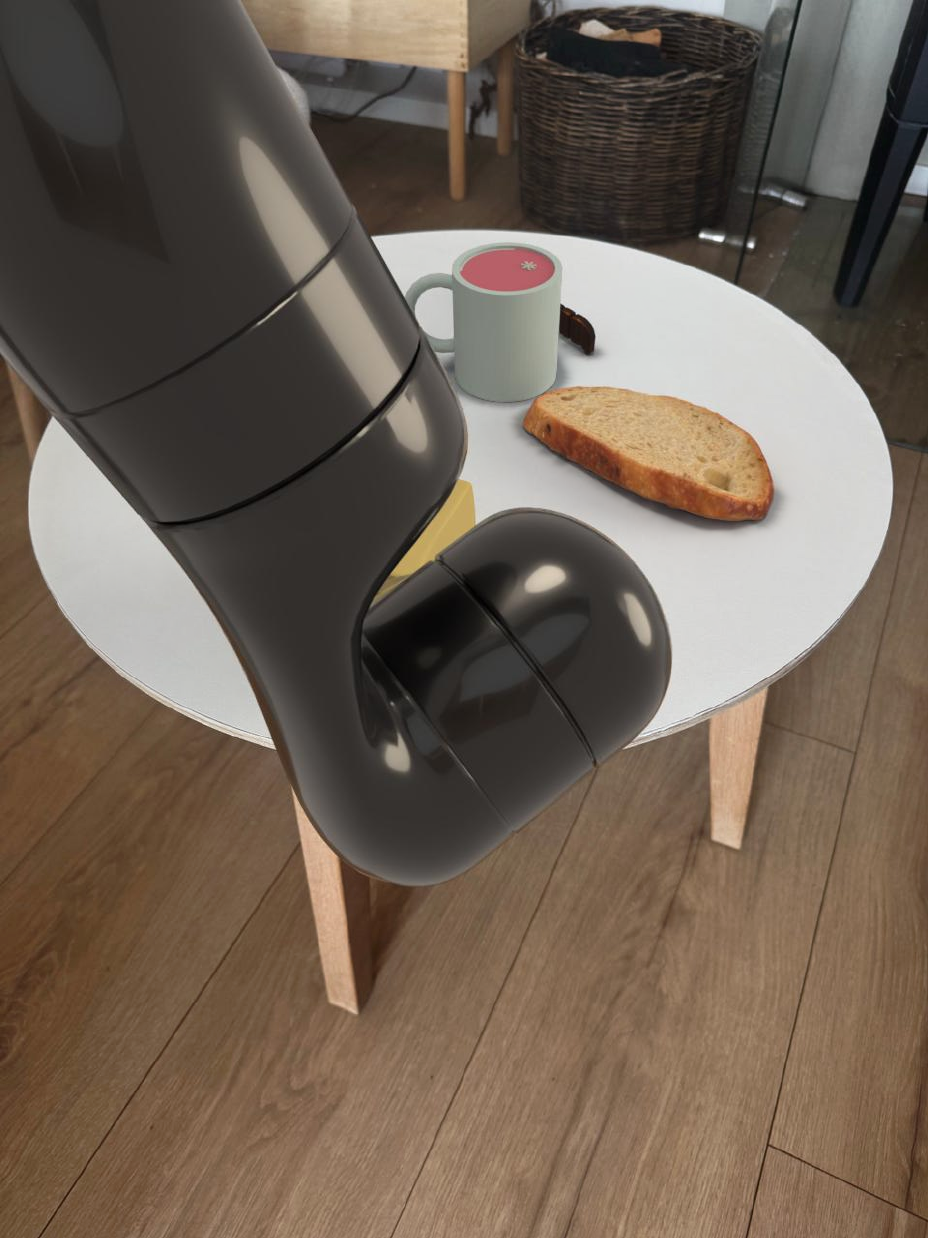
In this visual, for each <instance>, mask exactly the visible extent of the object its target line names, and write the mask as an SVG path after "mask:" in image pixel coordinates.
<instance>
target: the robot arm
mask: <svg viewBox="0 0 928 1238" xmlns="http://www.w3.org/2000/svg"><path fill="white" fill-rule="evenodd" d="M302 112H303V111H301V109H300V107H299V105H298V104H297V102H296V100H295V98H294V96H293V95H292V92H291V91H290V89H289V87H288V85H287V83H286V82H285V80H284V78H283V76H282V74H281V72H280V71H279V68H278V67H277V65H276V63H275V62H274V59H273V58H272V56H271V54H270V52H269V51H268V48H267V46H266V45H265V43H264V41H263V39H262V37H261V35H260V34H259V32H258V30H257V28H256V26H255V24H254V22H253V21H252V19H251V17H250V15H249V13H248V11H247V9H246V8H245V5H244V4H243V2H242V0H0V355H1V358H3V360H4V361H5V362H6V363H7V365H8V366H9V367H10V369H12V371H13V372H14V373H15V374H16V375H17V377H18V378H19V379H20V380H21V381H22V382H23V383H24V385H25V386H26V387H27V388H28V390H30V392H31V393H32V394H33V395H34V396H35V398H36V399H37V400H38V401H39V402H40V403H41V405H42V406H43V407H44V408H45V409H47V410H48V412H49V413H50V415H51V416H52V417H53V419H55V421H56V422H57V423H58V424H59V425H60V426H61V427H62V429H63V430H64V431H65V432H66V434H68V436H70V438H71V439H72V440H73V441H74V442H75V444H76V445H77V446H78V447H79V448H80V450H81V451H82V452H83V453H84V455H86V456H87V458H89V460H90V461H91V462H92V463H93V465H95V467H96V468H97V470H99V471H100V473H101V474H102V475H103V476H104V477H105V478H106V480H107V481H108V482H109V484H111V485H112V486H113V488H114V489H115V490H116V492H118V493H119V494H120V496H121V497H122V498H123V499H124V500H125V501H126V502H127V504H128V505H129V507H131V508H132V509H133V511H134V512H135V513H136V514H137V515H138V516H139V517H140V519H142V521H143V522H144V523H145V524H146V525H147V527H148V528H149V529H150V531H152V533H153V535H155V537H156V538H157V539H158V541H159V542H160V543H161V544H162V545H163V546H164V548H165V549H166V550H167V551H168V553H169V554H170V555H171V556H172V558H173V559H174V560H175V561H176V563H177V564H178V566H179V567H180V569H182V571H183V572H184V573H185V575H186V576H187V578H188V579H189V580H190V582H191V583H192V584H193V587H195V589H196V591H197V592H198V594H199V595H200V597H201V599H202V600H203V602H204V603H205V605H206V606H207V607H208V609H209V610H210V612H211V614H212V615H213V617H214V618H215V620H216V622H217V624H218V626H219V627H220V629H221V631H222V633H223V634H224V636H225V638H226V640H227V642H228V643H229V646H230V647H231V649H232V651H233V653H234V655H235V657H236V659H237V661H238V663H239V666H240V667H241V670H242V671H243V674H244V676H245V678H246V680H247V682H248V684H249V686H250V688H251V691H252V692H253V694H254V697H255V699H256V702H257V704H258V705H257V706H258V707H259V709H260V711H261V715H262V717H263V720H264V722H265V726H266V727H267V730H268V733H269V735H270V738H271V740H272V743H273V746H274V748H275V750H276V754H277V756H278V758H279V761H280V763H281V766H282V768H283V770H284V773H285V775H286V778H287V780H288V782H289V784H290V786H291V789H292V791H293V792H294V795H295V797H296V799H297V801H298V804H299V805H300V807H301V809H302V810H303V813H304V814H305V816H306V818H307V819H308V821H309V823H310V824H311V826H312V827H313V829H314V830H315V832H316V833H317V835H318V836H319V837H320V839H321V840H322V841H323V842H324V844H325V845H326V846H327V847H328V848H329V849H330V850H331V851H332V853H334V854H335V855H336V856H337V857H338V858H339V859H340V860H341V861H343V862H344V863H345V864H346V865H347V866H349V867H351V868H352V869H353V870H355V871H357V872H358V873H359V874H362V875H363V876H366V877H368V878H370V879H373V880H376V881H378V882H381V883H385V884H390V885H393V886H398V887H408V888H426V887H435V886H439V885H443V884H446V883H449V882H450V881H453V880H455V879H457V878H459V877H460V876H462V875H464V874H466V873H468V872H470V871H471V870H472V869H474V868H475V867H477V866H478V865H479V864H481V863H483V861H485V860H486V859H487V858H488V857H490V856H491V855H492V854H493V853H494V852H495V851H497V850H498V849H500V848H501V847H502V846H503V845H504V844H506V843H507V842H508V841H510V840H511V839H512V838H513V837H514V835H515V833H516V834H519V832H521V831H522V830H523V829H524V828H525V827H527V826H528V825H530V824H531V823H532V822H533V821H534V820H535V819H537V818H538V817H539V816H541V815H542V814H543V813H545V812H546V811H547V810H548V809H550V808H551V807H552V806H553V805H555V803H557V802H558V801H559V800H561V799H562V798H563V797H565V795H567V794H568V793H569V792H571V791H572V790H573V789H574V788H576V787H577V786H578V785H579V784H581V783H582V782H583V781H584V780H586V779H587V778H588V777H589V776H591V775H592V774H593V773H594V771H595V768H597V769H599V768H601V767H603V766H604V765H605V764H607V763H608V762H609V761H610V760H611V759H613V758H614V757H615V756H617V754H619V753H620V752H622V751H623V750H624V749H625V748H626V747H628V746H629V745H630V744H631V743H632V742H633V741H634V740H636V739H637V738H638V737H639V736H640V734H641V733H642V732H643V731H644V730H645V729H646V728H647V727H648V726H649V725H650V724H651V722H652V721H653V720H654V718H655V717H656V715H657V714H658V712H659V710H660V708H661V707H662V704H663V702H664V700H665V698H666V695H667V692H668V689H669V685H670V682H671V676H672V668H673V643H672V635H671V631H670V626H669V623H668V619H667V616H666V614H665V611H664V608H663V605H662V603H661V600H660V598H659V596H658V594H657V592H656V590H655V588H654V587H653V585H652V583H651V582H650V580H649V579H648V578H647V576H646V575H645V573H644V572H643V570H642V569H641V568H640V567H639V565H638V564H637V563H636V561H635V560H634V559H632V557H631V556H630V554H628V553H627V551H625V550H624V549H623V548H622V547H621V546H620V545H618V544H617V543H616V542H615V541H614V540H613V539H611V538H610V537H608V535H606V534H605V533H603V532H601V531H600V530H598V529H597V528H595V527H594V526H592V525H590V524H588V523H586V522H584V521H582V520H580V519H578V518H576V517H573V516H571V515H568V514H566V513H563V512H559V511H555V510H553V509H548V508H542V507H530V506H526V507H525V506H524V507H514V508H508V509H507V508H506V509H504V510H499V511H497V512H495V513H493V514H491V515H489V516H488V517H486V518H484V519H482V520H481V521H480V522H478V523H477V524H476V525H475V526H474V527H473V528H471V529H470V530H468V531H467V532H466V533H464V534H463V535H462V536H460V537H459V538H458V539H456V540H455V541H454V542H452V543H451V544H450V545H448V546H447V547H446V548H444V549H443V550H442V551H440V552H439V553H438V554H436V555H435V559H434V561H433V560H430V561H428V562H427V563H425V564H424V565H423V566H421V567H420V568H419V569H417V570H416V571H415V572H413V573H412V574H407V575H402V576H398V577H396V578H393V579H390V580H387V581H386V579H387V578H388V577H389V575H390V574H391V573H392V571H393V570H394V569H395V568H396V566H397V565H398V564H399V562H400V561H401V560H402V559H403V557H404V556H405V555H406V554H407V552H408V551H409V550H410V549H411V547H412V546H413V545H414V544H415V542H416V541H417V540H418V539H419V537H420V536H421V535H422V534H423V532H424V531H425V530H426V528H427V527H428V526H429V525H430V523H431V522H432V521H433V519H434V518H435V517H436V515H437V514H438V513H439V511H440V510H441V509H442V508H443V506H444V505H445V503H446V501H447V500H448V498H449V497H450V495H451V493H452V491H453V489H454V487H455V485H456V483H457V481H458V479H460V477H461V475H462V472H463V470H464V467H465V463H466V459H467V455H468V448H469V447H468V446H469V431H468V424H467V423H468V422H467V420H466V415H465V412H464V408H463V406H462V403H461V401H460V398H459V395H458V393H457V391H456V388H455V386H454V384H453V382H452V381H451V379H450V377H449V375H448V373H447V371H446V369H445V368H444V365H443V363H442V362H441V359H440V358H439V356H438V354H437V352H435V351H434V349H433V347H432V345H431V343H430V342H429V340H428V338H427V336H426V335H425V333H424V331H425V330H424V329H423V328H422V326H421V325H420V323H419V321H418V318H417V316H416V314H415V315H414V313H413V312H412V310H411V308H410V306H409V304H408V303H407V301H406V299H405V295H404V293H403V292H402V290H401V288H400V286H399V285H398V283H397V281H396V279H395V278H394V275H393V274H392V272H391V270H390V268H389V266H388V265H387V263H386V261H385V260H384V257H383V256H382V254H381V252H380V250H379V249H378V247H377V245H376V243H375V241H374V239H373V238H372V236H371V234H370V233H369V231H368V229H367V227H366V225H365V223H364V222H363V220H362V218H361V217H360V215H359V213H358V210H357V209H356V207H355V206H354V204H353V201H352V200H351V198H350V196H349V195H348V194H349V193H347V190H346V189H345V187H344V185H343V184H342V182H341V180H340V178H339V177H338V174H337V173H336V171H335V170H334V168H333V166H332V164H331V162H330V161H329V159H328V157H327V155H326V152H325V151H324V149H323V148H322V146H321V144H320V143H319V141H318V139H317V137H316V136H315V134H314V132H313V130H312V128H311V127H310V125H309V123H308V121H307V120H306V117H305V116H304V115H303V113H302ZM415 316H416V317H415Z"/></svg>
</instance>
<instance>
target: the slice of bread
mask: <svg viewBox="0 0 928 1238" xmlns="http://www.w3.org/2000/svg"><path fill="white" fill-rule="evenodd" d="M522 427H523V429H525V430H526V432H527V434H531V435H533V436H534V437H536V438H537V439H538V440H539V441H540V442H541V443H542V444H544V445H546V446H547V447H548V448H549V450H551V451H553V452H556V453H558V454H560V455H561V456H562V457H564V458H565V459H566V460H569V461H571V462H575V463H576V464H578V465H580V466H581V467H582V468H583V469H585V470H588V471H591V472H593V473H594V474H596V475H597V476H599V477H601V478H602V479H604V480H606V481H608V482H611V483H613V484H615V485H617V486H619V487H620V488H622V489H623V490H624V489H625V490H627V491H630V492H633V493H634V494H636V495H638V496H639V497H641V498H643V499H646V500H649V501H653V502H656V503H657V502H658V503H662V504H664V505H666V506H667V507H669V508H670V509H672V510H673V509H674V510H683V511H686V512H688V513H691V514H693V515H697V516H701V517H703V518H707V519H713V520H717V521H718V520H720V521H727V522H740V521H746V520H750V521H759V520H761V519H763V518H765V517H766V516H767V514H768V511H769V508H770V507H771V505H772V502H773V499H774V496H775V485H774V480H773V477H772V473H771V470H770V468H769V464H768V461H767V460H766V458H765V456H764V453H763V452H762V450H761V447H760V446H759V444H758V443H757V441H756V440H755V438H754V437H753V436H752V434H751V433H749V432H748V431H746V430H745V429H743V428H742V427H740V426H738V425H737V424H735V423H733V421H731V420H730V419H728V418H726V417H724V416H723V415H722V414H720V413H719V412H717V411H716V412H715V411H712V410H710V409H708V408H707V407H705V406H701V405H696V404H694V403H692V402H690V401H688V400H685V399H681V398H678V397H677V396H670V395H663V394H661V395H654V394H649V393H647V392H640V391H634V390H631V389H628V388H620V387H619V388H618V387H613V386H612V387H611V386H580V385H578V386H577V385H576V386H571V387H561V388H557V389H555V390H550V391H545V392H544V393H542V394H540V395H539V396H536V397H535V399H534V400H533V401H532V403H531V405H530V406H529V408H528V409H527V411H526V413H525V416H524V417H523V421H522Z"/></svg>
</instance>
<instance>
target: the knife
mask: <svg viewBox="0 0 928 1238" xmlns="http://www.w3.org/2000/svg"><path fill="white" fill-rule="evenodd" d="M559 335H561V336H562V337H563V338H565V339H566V340H570V341H571V342H572V343H573V344H575V345H577V346H579V347H580V348H581V349H582V350H583V352H584V354H585V356H588V355H591V354H593V353H594V352H595V346H596V332H595V328H594V326H593V324H592V323H591V322H590V320H589V319H587V318H586V317H584V316H582V315H581V314H580V313H576V311H575V310H573V309H571V308H569V307H566V306H565V305H564V304H562V303H561V302H560V318H559Z"/></svg>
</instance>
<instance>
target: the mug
mask: <svg viewBox="0 0 928 1238" xmlns="http://www.w3.org/2000/svg"><path fill="white" fill-rule="evenodd" d="M562 281H563V264H562V262H561V260H560V259H559V258H558V257H557V255H555V254H554V253H552V252H551V251H549V250H547V249H545V248H543V247H540V246H537V245H533V244H529V243H522V242H514V241H513V242H512V241H511V242H509V241H507V242H504V241H503V242H493V243H487V244H481V245H477V246H475V247H472V248H470V249H468V250H466V251H464V252H462V253H461V254H460V255H458V256H457V257H456V258H455V260H454V261H453V262H452V266H451V274H450V273H444V272H436V273H428V274H426V275H424V276H421V277H419V278H418V279H417V280H416V281H414V282H413V283H412V284H411V285H410V287H409V288H408V289H407V291H406V292H405V295H404V297H405V299H406V301H407V303H408V304H409V306H410V308H411V310H412V312H413V313H414V315H415V317H416V318H417V316H416V305H417V302H418V300H419V298H420V297H421V296H422V295H423V294H424V293H425V292H426V291H428V290H431V289H435V288H436V289H438V288H441V289H447V290H450V291H452V318H453V319H452V320H453V321H452V322H453V337H452V338H447V339H443V338H437V337H435V336H433V335H430V334H429V333H428V332H426V331H425V330H423V331H424V333H425V335H426V336H427V338H428V340H429V342H430V343H431V345H432V347H433V349H434V351H435V352H436V353H441V354H449V353H453V355H454V357H453V359H454V377H455V381H456V383H457V385H458V386H459V387H460V388H461V389H462V390H463V391H464V392H466V393H468V395H471V396H473V397H476V398H478V399H481V400H484V401H490V402H497V403H516V402H521V401H527V400H531V399H533V398H537V397H539V396H541V395H543V394H544V393H546V392H548V390H549V389H550V388H551V387H552V386H553V385H554V383H555V382H556V378H557V369H558V368H557V367H558V355H559V354H558V353H559V352H558V351H559V335H560V333H559V318H560V303H561V301H562V300H561V299H562V298H561V297H562Z"/></svg>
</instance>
